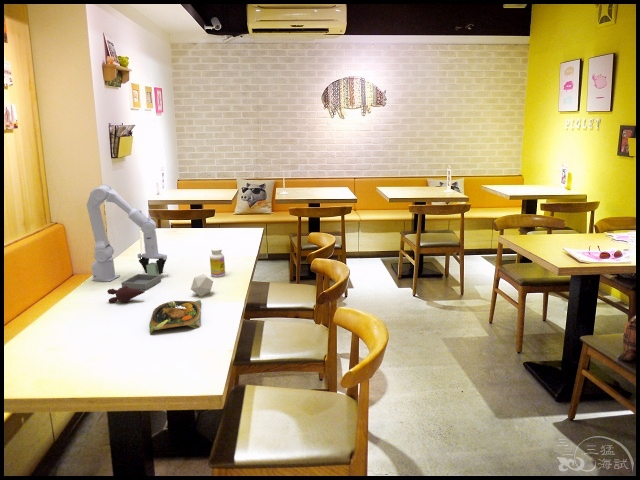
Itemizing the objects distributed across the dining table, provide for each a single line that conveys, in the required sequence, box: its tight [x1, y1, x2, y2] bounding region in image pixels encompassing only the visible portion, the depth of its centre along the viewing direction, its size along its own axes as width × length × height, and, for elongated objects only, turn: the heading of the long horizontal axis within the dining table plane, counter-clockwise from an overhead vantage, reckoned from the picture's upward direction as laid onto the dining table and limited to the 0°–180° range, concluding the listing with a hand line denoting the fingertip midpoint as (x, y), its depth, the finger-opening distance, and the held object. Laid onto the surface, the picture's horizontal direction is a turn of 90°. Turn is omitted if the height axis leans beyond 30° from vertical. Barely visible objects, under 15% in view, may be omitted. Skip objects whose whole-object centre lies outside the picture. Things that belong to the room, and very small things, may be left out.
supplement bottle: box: [209, 247, 226, 278], centre depth 232 cm, size 7×7×13 cm
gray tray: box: [120, 273, 162, 291], centre depth 222 cm, size 12×12×3 cm
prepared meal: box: [148, 299, 202, 335], centre depth 186 cm, size 28×4×18 cm
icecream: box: [107, 286, 145, 304], centre depth 202 cm, size 7×7×15 cm
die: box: [190, 273, 214, 297], centre depth 208 cm, size 8×9×10 cm
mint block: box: [146, 262, 162, 276], centre depth 234 cm, size 4×4×6 cm
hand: (154, 273), depth 235 cm, fingers open, 7 cm apart
